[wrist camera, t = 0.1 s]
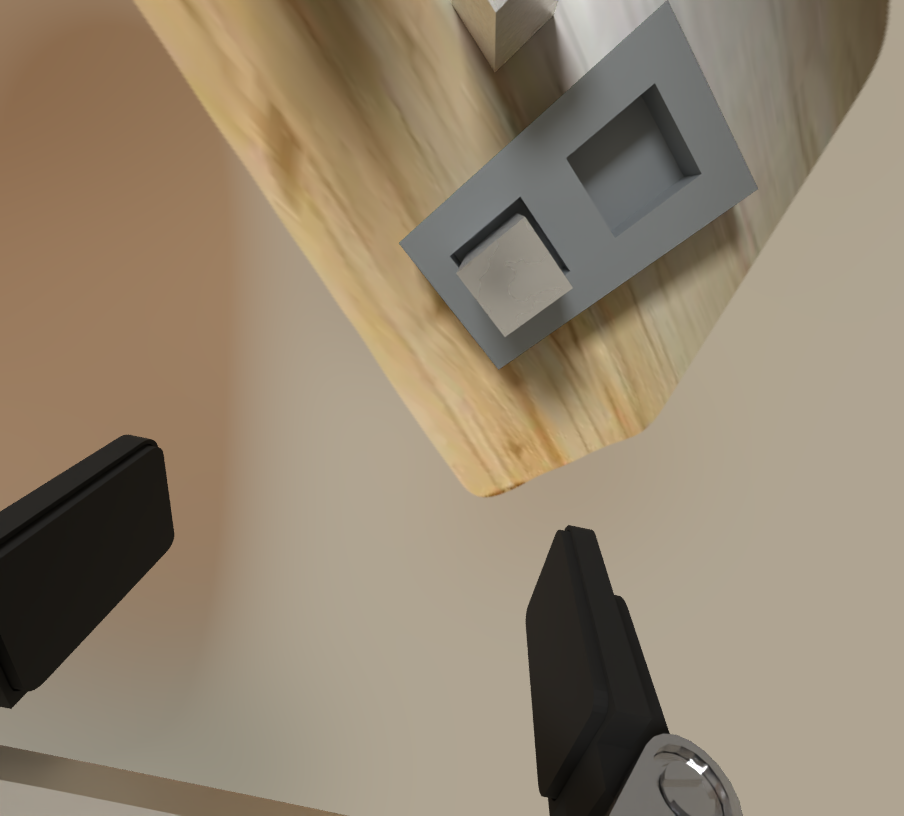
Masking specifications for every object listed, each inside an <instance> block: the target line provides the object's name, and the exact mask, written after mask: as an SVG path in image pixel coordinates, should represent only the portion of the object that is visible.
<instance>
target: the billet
mask: <svg viewBox="0 0 904 816" xmlns="http://www.w3.org/2000/svg"><path fill="white" fill-rule="evenodd" d="M456 274H457V275H458V276H459V278H460V279H461V280H462V282H463V283H464V284H465V286H466V287H467V288H468V290H469V291H470V292H471V293H472V295H473V296H474V297H475V299H476V300H477V301H478V303H479V304H480V305H481V307H482V308H483V309H484V311H485V312H486V313H487V314H488V316H489V317H490V318H491V320H492V321H493V322H494V324H495V325H496V326H497V328H498V329H499V330H500V332H501V333H502V334H503V336H504V337H506V336H507V335H509V334H510V333H511V332H513V331H514V330H516V329H517V328H518V327H520V326H521V325H523V324H524V323H525V322H527V321H528V320H529V319H531V318H532V317H534V316H535V315H536V314H538V313H539V312H541V311H542V310H543V309H545V308H546V307H547V306H549V305H550V304H552V303H553V302H554V301H556V300H557V299H558V298H560V297H561V296H563V295H564V294H565V293H567V292H568V291H570V290H571V289H572V288H573V287H572V286H571V284H570V283H569V281H568V280H567V278H566V277H565V275H564V274H563V272H562V271H561V269H560V268H559V266H558V265H557V264H556V262H555V261H554V259H553V258H552V256H551V255H550V253H549V252H548V250H547V249H546V247H545V246H544V244H543V243H542V241H541V240H540V238H539V237H538V235H537V234H536V232H535V231H534V229H533V228H532V226H531V225H530V223H529V222H528V220H527V219H526V217H524V216H522V215H520V214H518V213H515V214H514V215H513V216H511V217H510V218H509V219H508V220H507V221H505V222H504V223H503V224H502V225H500V226H499V227H498V228H497V229H496V230H494V231H493V232H492V233H491V234H490V235H488V236H487V237H486V238H485V239H484V240H482V241H481V242H480V243H479V244H478V245H476V246H475V247H474V248H473V249H472V250H470V251H469V252H468V253H467V254H466V256H465V258H464V259H463V261H462V263H461V265H460V267H459V269H458V271H457V273H456Z"/></svg>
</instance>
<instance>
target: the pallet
mask: <svg viewBox="0 0 904 816" xmlns="http://www.w3.org/2000/svg"><path fill="white" fill-rule="evenodd" d="M757 189H758V187H757V185H756V183H755V181H754V179H753V177H752V175H751V173H750V171H749V169H748V166H747V164H746V162H745V160H744V158H743V156H742V154H741V152H740V150H739V148H738V146H737V143H736V141H735V139H734V137H733V135H732V133H731V131H730V129H729V127H728V125H727V123H726V120H725V118H724V116H723V114H722V112H721V110H720V108H719V106H718V104H717V102H716V100H715V98H714V95H713V93H712V91H711V89H710V87H709V85H708V83H707V81H706V79H705V77H704V75H703V72H702V70H701V68H700V66H699V64H698V62H697V60H696V58H695V56H694V54H693V52H692V49H691V47H690V45H689V43H688V41H687V39H686V37H685V35H684V33H683V31H682V29H681V27H680V24H679V22H678V20H677V18H676V16H675V14H674V12H673V10H672V8H671V6H670V4H669V1H668V0H667V1H666V2H665V3H664V4H663V5H662V6H660V7H659V8H658V9H657V10H656V11H655V12H654V13H653V14H652V15H650V16H649V17H648V18H647V19H646V20H645V21H644V22H643V23H642V24H641V25H639V26H638V27H637V28H636V29H635V30H634V31H633V32H632V33H631V34H629V35H628V36H627V37H626V38H625V39H624V40H623V41H622V42H621V43H619V44H618V45H617V46H616V47H615V48H614V49H613V50H612V51H611V52H610V53H608V54H607V55H606V56H605V57H604V58H603V59H602V60H601V61H600V62H598V63H597V64H596V65H595V66H594V67H593V68H592V69H591V70H590V71H589V72H587V73H586V74H585V75H584V76H583V77H582V78H581V79H580V80H579V81H577V82H576V83H575V84H574V85H573V86H572V87H571V88H570V89H569V90H567V91H566V92H565V93H564V94H563V95H562V96H561V97H560V98H559V99H558V100H556V101H555V102H554V103H553V104H552V105H551V106H550V107H549V108H548V109H546V110H545V111H544V112H543V113H542V114H541V115H540V116H539V117H538V118H537V119H535V120H534V121H533V122H532V123H531V124H530V125H529V126H528V127H527V128H525V129H524V130H523V131H522V132H521V133H520V134H519V135H518V136H517V137H515V138H514V139H513V140H512V141H511V142H510V143H509V144H508V145H507V146H506V147H504V148H503V149H502V150H501V151H500V152H499V153H498V154H497V155H496V156H494V157H493V158H492V159H491V160H490V161H489V162H488V163H487V164H486V165H484V166H483V167H482V168H481V169H480V170H479V171H478V172H477V173H476V174H475V175H473V176H472V177H471V178H470V179H469V180H468V181H467V182H466V183H465V184H463V185H462V186H461V187H460V188H459V189H458V190H457V191H456V192H455V193H454V194H452V195H451V196H450V197H449V198H448V199H447V200H446V201H445V202H444V203H442V204H441V205H440V206H439V207H438V208H437V209H436V210H435V211H434V212H432V213H431V214H430V215H429V216H428V217H427V218H426V219H425V220H424V221H423V222H421V223H420V224H419V225H418V226H417V227H416V228H415V229H414V230H413V231H411V232H410V233H409V234H408V235H407V236H406V237H405V238H404V239H403V240H402V241H400V242H399V244H400V245H401V247H402V248H403V249H404V250H405V252H406V253H407V254H408V256H409V257H410V258H411V259H412V261H413V262H414V263H415V264H416V266H417V267H418V268H419V269H420V271H421V272H422V273H423V275H424V276H425V277H426V278H427V280H428V281H429V282H430V283H431V285H432V286H433V287H434V288H435V290H436V291H437V292H438V294H439V295H440V296H441V297H442V299H443V300H444V301H445V302H446V304H447V305H448V306H449V307H450V309H451V310H452V311H453V313H454V314H455V315H456V316H457V318H458V319H459V320H460V321H461V323H462V324H463V325H464V327H465V328H466V329H467V330H468V332H469V333H470V334H471V335H472V337H473V338H474V339H475V340H476V342H477V343H478V344H479V346H480V347H481V348H482V349H483V351H484V352H485V353H486V354H487V356H488V357H489V358H490V359H491V361H492V362H493V363H494V365H495V366H496V367H497V368H498V370H499V369H500V368H502V367H503V366H505V365H506V364H508V363H509V362H510V361H512V360H513V359H515V358H516V357H518V356H519V355H520V354H522V353H523V352H525V351H526V350H528V349H529V348H531V347H532V346H533V345H535V344H536V343H538V342H539V341H541V340H542V339H543V338H545V337H546V336H548V335H549V334H551V333H552V332H554V331H555V330H556V329H558V328H559V327H561V326H562V325H564V324H565V323H566V322H568V321H569V320H571V319H572V318H574V317H575V316H576V315H578V314H579V313H581V312H582V311H584V310H585V309H587V308H588V307H589V306H591V305H592V304H594V303H595V302H597V301H598V300H599V299H601V298H602V297H604V296H605V295H607V294H608V293H610V292H611V291H612V290H614V289H615V288H617V287H618V286H620V285H621V284H622V283H624V282H625V281H627V280H628V279H630V278H631V277H632V276H634V275H635V274H637V273H638V272H640V271H641V270H643V269H644V268H645V267H647V266H648V265H650V264H651V263H653V262H654V261H655V260H657V259H658V258H660V257H661V256H663V255H664V254H666V253H667V252H668V251H670V250H671V249H673V248H674V247H676V246H677V245H678V244H680V243H681V242H683V241H684V240H686V239H687V238H688V237H690V236H691V235H693V234H694V233H696V232H697V231H699V230H700V229H701V228H703V227H704V226H706V225H707V224H709V223H710V222H711V221H713V220H714V219H716V218H717V217H719V216H720V215H722V214H723V213H724V212H726V211H727V210H729V209H730V208H732V207H733V206H734V205H736V204H737V203H739V202H740V201H742V200H743V199H744V198H746V197H747V196H749V195H750V194H752V193H753V192H755V191H756V190H757ZM515 213H518V214H520V215H522V216H524V217H526V219H527V220H528V222H529V223H530V225H531V226H532V228H533V229H534V231H535V232H536V234H537V235H538V237H539V238H540V240H541V241H542V243H543V244H544V246H545V247H546V249H547V250H548V252H549V253H550V255H551V256H552V258H553V259H554V261H555V262H556V264H557V265H558V266H559V268H560V269H561V271H562V272H563V274H564V275H565V277H566V278H567V280H568V281H569V283H570V284H571V286H572V287H573V288H572V289H571V290H570V291H568V292H567V293H565V294H564V295H563V296H561V297H560V298H558V299H557V300H556V301H554V302H553V303H552V304H550V305H549V306H547V307H546V308H545V309H543V310H542V311H541V312H539V313H538V314H536V315H535V316H534V317H532V318H531V319H529V320H528V321H527V322H525V323H524V324H523V325H521V326H520V327H518V328H517V329H516V330H514V331H513V332H511V333H510V334H509V335H507V336H506V337H504V336H503V334H502V333H501V332H500V330H499V329H498V328H497V326H496V325H495V324H494V322H493V321H492V320H491V318H490V317H489V316H488V314H487V313H486V312H485V311H484V309H483V308H482V307H481V305H480V304H479V303H478V301H477V300H476V299H475V297H474V296H473V295H472V293H471V292H470V291H469V290H468V288H467V287H466V286H465V284H464V283H463V282H462V280H461V279H460V278H459V276H458V275H457V274H456V273H457V271H458V269H459V267H460V265H461V263H462V261H463V259H464V258H465V256H466V254H467V253H468V252H469V251H470V250H472V249H473V248H474V247H475V246H476V245H478V244H479V243H480V242H481V241H482V240H484V239H485V238H486V237H487V236H488V235H490V234H491V233H492V232H493V231H494V230H496V229H497V228H498V227H499V226H500V225H502V224H503V223H504V222H505V221H507V220H508V219H509V218H510V217H511V216H513V215H514V214H515Z"/></svg>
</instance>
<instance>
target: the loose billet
mask: <svg viewBox="0 0 904 816" xmlns="http://www.w3.org/2000/svg"><path fill="white" fill-rule="evenodd" d="M451 2H452V5H453V7H454V8H455V10H456V12H457V13H458V15H459V16H460V18H461V20H462V21H463V23H464V24H465V26H466V28H467V29H468V31H469V32H470V34H471V36H472V37H473V39H474V40H475V42H476V43H477V45H478V47H479V48H480V50H481V51H482V53H483V55H484V56H485V58H486V59H487V61H488V63H489V64H490V66H491V67H492V69H493V71H494V72H496V71H497V70H498V69H499V68H500V67H501V66H502V65H503V64H504V63H505V62H506V61H507V60H509V59H510V58H511V57H512V56H513V55H514V54H515V53H516V52H517V51H518V50H519V49H520V48H521V47H522V46H523V45H524V44H525V43H526V42H527V41H528V40H529V39H530V38H531V37H532V36H533V35H534V34H535V33H536V32H537V31H538V30H539V29H540V28H541V27H542V26H543V25H544V24H545V23H546V22H547V21H548V20H549V19H550V18H551V17H552V16H553V15H554V12H555V9H556V6H557V3H558V0H451Z"/></svg>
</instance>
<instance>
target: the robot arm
mask: <svg viewBox="0 0 904 816" xmlns="http://www.w3.org/2000/svg"><path fill="white" fill-rule="evenodd" d="M173 539H174V529H173V521H172V514H171V507H170V500H169V492H168V484H167V477H166V469H165V462H164V455H163V451H162V450H161V448H159V447H158V445H157V443H156V442H155V441H154V440H151V439H147V438H142V437H137V436H132V435H123V436H121V437H119V438H118V439H116V440H114V441H112V442H111V443H109V444H108V445H106V446H105V447H103V448H101V449H100V450H98V451H96V452H95V453H93V454H92V455H90V456H88V457H87V458H85V459H84V460H82V461H80V462H79V463H77V464H76V465H74V466H72V467H71V468H69V469H68V470H66V471H65V472H63V473H61V474H60V475H58V476H56V477H55V478H53V479H52V480H50V481H48V482H47V483H45V484H44V485H42V486H40V487H39V488H37V489H36V490H34V491H32V492H31V493H29V494H28V495H26V496H24V497H23V498H21V499H20V500H18V501H17V502H15V503H13V504H12V505H10V506H8V507H7V508H5V509H4V510H2V511H1V512H0V707H5V708H10V709H11V708H12V707H13V706H14V705H15V704H16V703H17V702H18V701H19V700H20V699H21V698H22V697H23V696H24V695H25V694H26V693H27V692H28V691H32V690H35V689H36V688H38V687H39V686H40V685H42V684H43V683H44V682H45V681H46V680H47V678H48V677H49V676H50V675H51V674H52V673H53V672H54V671H55V670H56V669H57V668H58V667H59V666H60V665H61V664H62V663H63V662H64V660H65V659H66V658H67V657H68V656H69V655H70V654H71V653H72V652H73V651H74V650H75V649H76V648H77V647H78V646H79V645H80V643H81V642H82V641H83V640H84V639H85V638H86V637H87V636H88V635H89V634H90V633H91V632H92V630H94V628H95V627H96V626H97V625H98V624H99V623H100V622H101V621H102V620H103V619H104V618H105V617H106V616H107V615H108V614H109V613H110V611H111V610H112V609H113V608H114V607H115V606H116V605H117V604H118V603H119V602H120V601H121V600H122V599H123V597H125V595H126V594H127V593H128V592H129V591H130V590H131V589H132V588H133V587H134V586H135V585H136V584H137V583H138V582H139V581H140V579H141V578H142V577H143V576H144V575H145V574H146V573H147V572H148V571H149V570H150V569H151V568H152V567H153V566H154V565H155V563H156V562H157V561H158V560H159V559H160V558H161V557H162V556H163V555H164V554H165V553H166V552H167V551H168V549H169V548H170V546H171V545H172V542H173ZM526 633H527V646H528V659H529V671H530V685H531V697H532V710H533V723H534V736H535V748H536V762H537V774H538V786H539V791H540V794H541V796H543V797H548V802H549V813H550V816H743V814H742V810H741V806H740V802H739V799H738V797H737V795H736V793H735V791H734V789H733V787H732V784H731V782H730V781H729V779H728V778H727V777H726V775H725V774H724V772H723V771H722V770H721V768H720V767H719V765H718V764H717V763H716V762H715V761H714V760H713V759H712V758H711V757H710V756H709V755H708V754H707V753H706V752H705V751H704V750H702V749H701V748H700V747H698V746H697V745H695V744H694V743H692V742H691V741H689V740H687V739H685V738H682V737H680V736H678V735H672V734H670V733H669V731H668V728H667V724H666V722H665V718H664V715H663V712H662V709H661V707H660V703H659V700H658V697H657V694H656V692H655V688H654V686H653V683H652V679H651V677H650V674H649V671H648V667H647V664H646V662H645V659H644V656H643V652H642V649H641V646H640V644H639V640H638V637H637V635H636V632H635V628H634V625H633V622H632V619H631V617H630V613H629V610H628V607H627V605H626V603H625V601H624V600H623V598H622V597H621V596H617V595H614V593H613V590H612V587H611V584H610V580H609V577H608V574H607V571H606V567H605V564H604V561H603V558H602V555H601V551H600V548H599V545H598V542H597V539H596V535H595V533H594V531H593V530H590V529H585V528H580V527H575V526H570V525H568V526H567V527H566V528H565V531H563V530H558V531H557V532H556V535H555V537H554V540H553V543H552V545H551V548H550V550H549V553H548V555H547V558H546V561H545V563H544V566H543V569H542V571H541V574H540V576H539V579H538V581H537V584H536V587H535V589H534V592H533V594H532V597H531V600H530V602H529V605H528V608H527V613H526ZM0 816H347V815H342V814H337V813H332V812H328V811H323V810H318V809H313V808H308V807H304V806H299V805H294V804H289V803H285V802H280V801H275V800H270V799H265V798H260V797H256V796H251V795H246V794H241V793H236V792H231V791H226V790H221V789H216V788H211V787H207V786H202V785H197V784H191V783H187V782H182V781H177V780H172V779H167V778H162V777H158V776H153V775H147V774H143V773H138V772H133V771H128V770H123V769H118V768H113V767H108V766H103V765H98V764H93V763H88V762H83V761H78V760H73V759H68V758H63V757H58V756H53V755H48V754H42V753H38V752H33V751H28V750H22V749H17V748H12V747H7V746H2V745H0Z"/></svg>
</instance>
